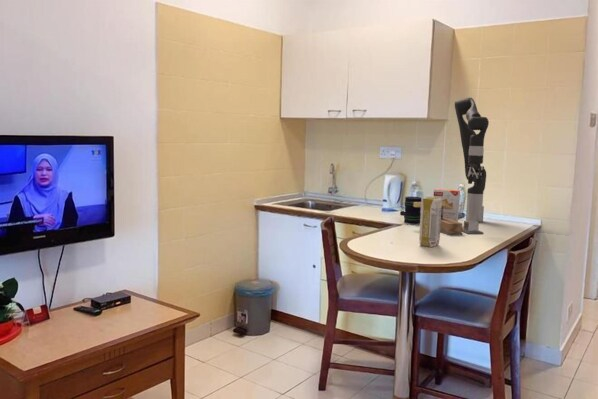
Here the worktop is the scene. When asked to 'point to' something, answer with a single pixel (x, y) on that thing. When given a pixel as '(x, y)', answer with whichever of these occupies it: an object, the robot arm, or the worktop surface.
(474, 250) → the worktop surface
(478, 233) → the mat
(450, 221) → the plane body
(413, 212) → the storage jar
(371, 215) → the worktop surface
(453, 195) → the cracker box
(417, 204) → the lever
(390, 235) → the worktop surface
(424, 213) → the juice carton
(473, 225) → the cap
